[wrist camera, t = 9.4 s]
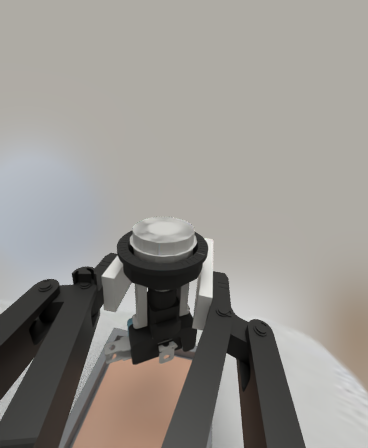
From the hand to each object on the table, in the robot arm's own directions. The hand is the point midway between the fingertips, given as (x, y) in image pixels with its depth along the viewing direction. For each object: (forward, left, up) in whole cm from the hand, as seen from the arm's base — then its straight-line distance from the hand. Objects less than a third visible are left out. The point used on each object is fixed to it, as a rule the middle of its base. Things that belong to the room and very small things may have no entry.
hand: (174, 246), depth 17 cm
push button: (0, -5, -6) cm, 8 cm away
